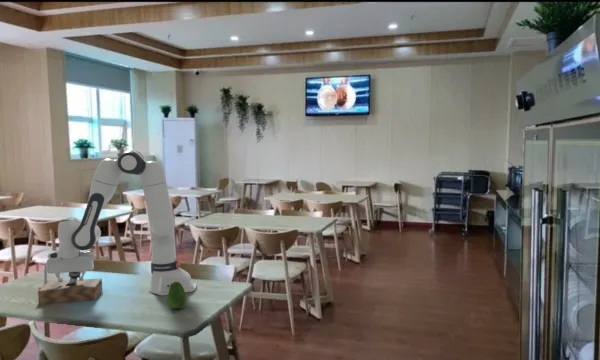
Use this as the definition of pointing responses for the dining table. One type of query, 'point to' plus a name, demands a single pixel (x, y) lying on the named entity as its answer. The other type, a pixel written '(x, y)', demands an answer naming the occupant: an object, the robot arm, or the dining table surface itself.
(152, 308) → the dining table surface
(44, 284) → the tow hook
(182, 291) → the avocado
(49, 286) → the hitch block
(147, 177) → the robot arm
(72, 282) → the steel pin
